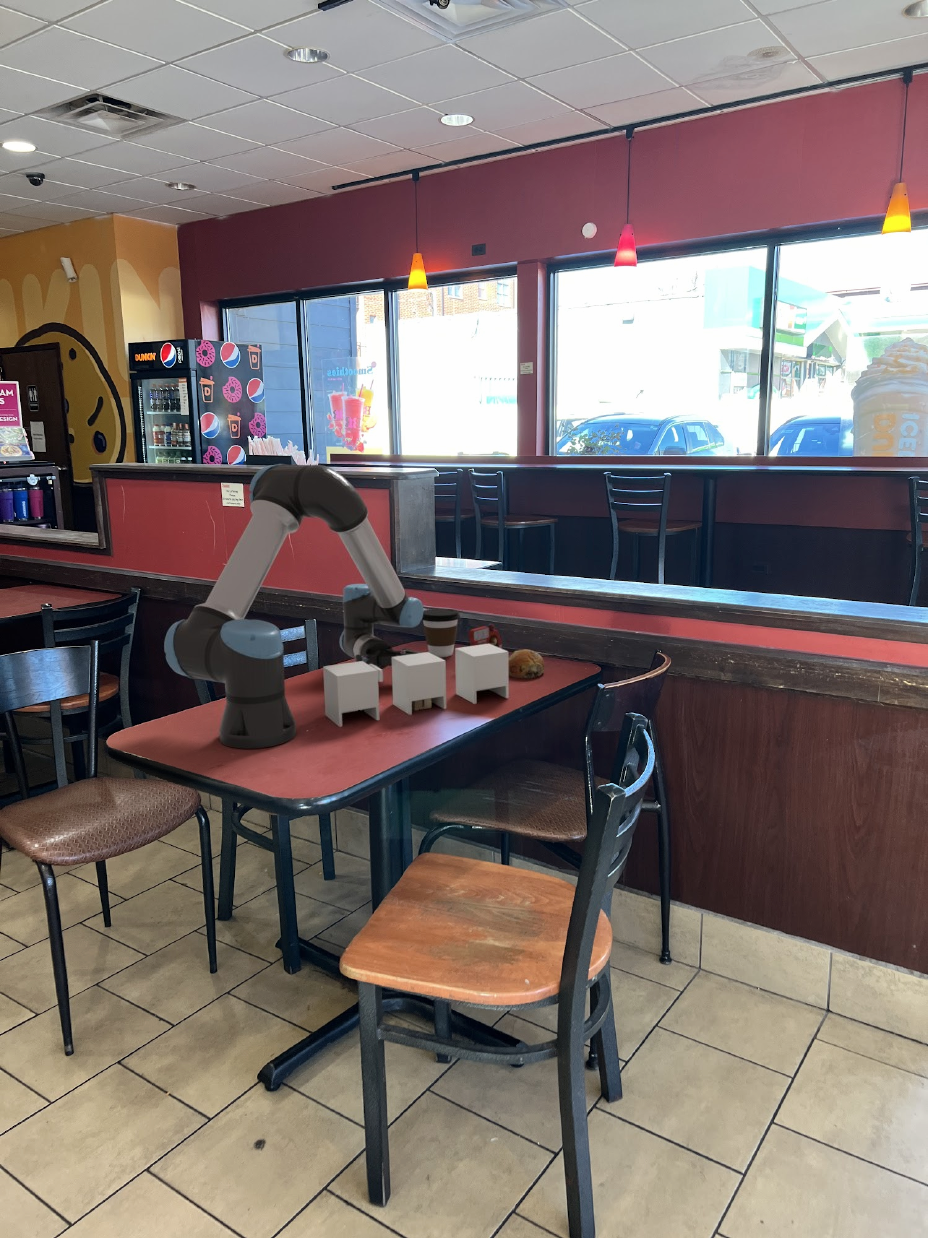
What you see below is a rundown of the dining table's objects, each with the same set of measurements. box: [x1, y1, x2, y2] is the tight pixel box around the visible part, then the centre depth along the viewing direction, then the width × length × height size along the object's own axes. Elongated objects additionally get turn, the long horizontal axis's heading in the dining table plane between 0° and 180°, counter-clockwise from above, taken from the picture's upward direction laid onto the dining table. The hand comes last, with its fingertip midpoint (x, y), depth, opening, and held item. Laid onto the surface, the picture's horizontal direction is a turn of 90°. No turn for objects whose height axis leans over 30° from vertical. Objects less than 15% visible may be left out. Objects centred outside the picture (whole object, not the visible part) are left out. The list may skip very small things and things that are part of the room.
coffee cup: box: [421, 608, 461, 658], centre depth 244 cm, size 11×11×12 cm
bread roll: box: [508, 649, 546, 679], centre depth 225 cm, size 10×10×8 cm
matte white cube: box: [322, 661, 380, 728], centre depth 191 cm, size 9×9×11 cm
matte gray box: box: [454, 644, 510, 705], centre depth 205 cm, size 9×9×11 cm
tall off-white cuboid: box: [391, 651, 447, 716], centre depth 198 cm, size 9×9×11 cm
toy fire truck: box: [468, 623, 505, 650], centre depth 234 cm, size 7×12×10 cm, turn 140°
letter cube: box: [412, 698, 432, 711], centre depth 199 cm, size 4×4×4 cm
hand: (408, 671), depth 204 cm, fingers open, 13 cm apart
